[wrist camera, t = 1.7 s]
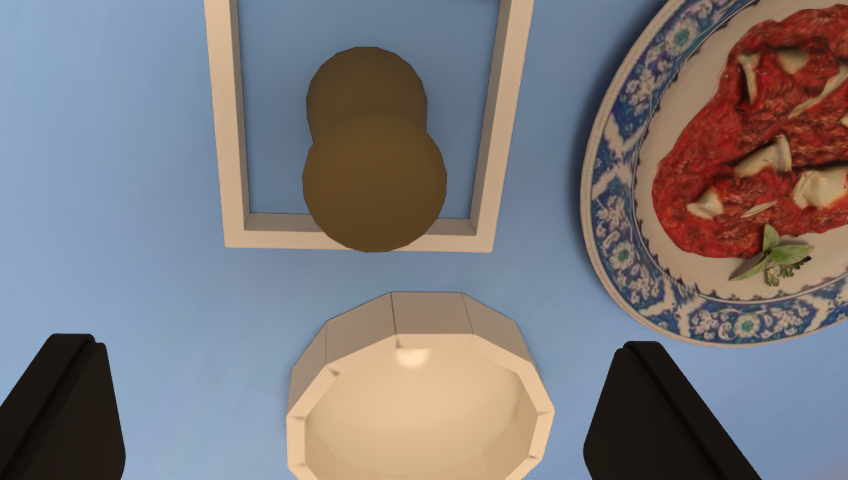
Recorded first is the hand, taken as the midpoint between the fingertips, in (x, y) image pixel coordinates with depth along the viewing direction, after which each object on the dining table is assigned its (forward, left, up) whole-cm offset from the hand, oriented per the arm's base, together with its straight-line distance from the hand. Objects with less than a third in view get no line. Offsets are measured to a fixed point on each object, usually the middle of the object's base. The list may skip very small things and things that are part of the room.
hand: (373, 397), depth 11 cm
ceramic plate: (-25, +2, -21) cm, 32 cm away
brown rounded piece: (-1, +1, -21) cm, 21 cm away
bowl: (-5, +20, -21) cm, 29 cm away
